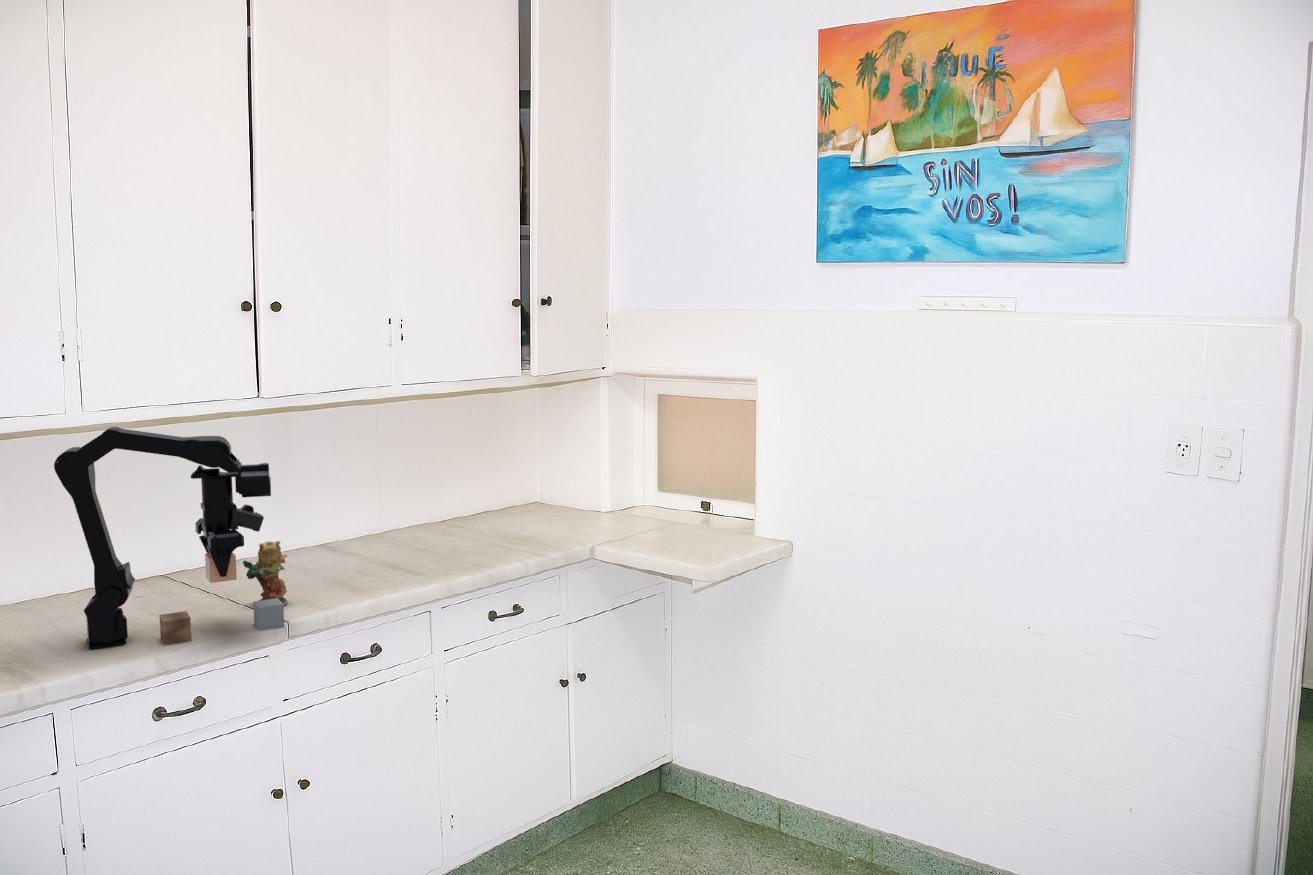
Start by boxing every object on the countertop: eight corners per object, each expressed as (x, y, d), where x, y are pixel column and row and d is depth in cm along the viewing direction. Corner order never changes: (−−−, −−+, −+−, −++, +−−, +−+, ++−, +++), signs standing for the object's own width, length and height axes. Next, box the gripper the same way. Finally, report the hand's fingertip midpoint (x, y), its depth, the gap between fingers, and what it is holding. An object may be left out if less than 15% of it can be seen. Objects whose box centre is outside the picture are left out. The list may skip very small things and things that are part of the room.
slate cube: (259, 630, 212) (258, 607, 212) (254, 624, 216) (253, 601, 216) (284, 627, 215) (283, 604, 214) (278, 620, 219) (277, 598, 218)
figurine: (293, 600, 234) (291, 536, 232) (282, 610, 226) (280, 544, 224) (253, 599, 233) (250, 535, 231) (241, 609, 226) (238, 543, 224)
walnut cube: (164, 645, 202) (162, 621, 202) (160, 638, 207) (159, 614, 206) (191, 641, 205) (190, 617, 204) (187, 634, 209) (186, 611, 209)
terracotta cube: (210, 583, 206) (209, 558, 205) (206, 577, 210) (205, 553, 209) (236, 579, 209) (235, 555, 208) (231, 573, 213) (230, 550, 212)
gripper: (269, 502, 204) (272, 578, 206) (249, 487, 219) (252, 558, 221) (209, 508, 198) (213, 586, 200) (193, 492, 213) (197, 565, 215)
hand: (220, 573), depth 209 cm, fingers closed on terracotta cube, 5 cm apart
